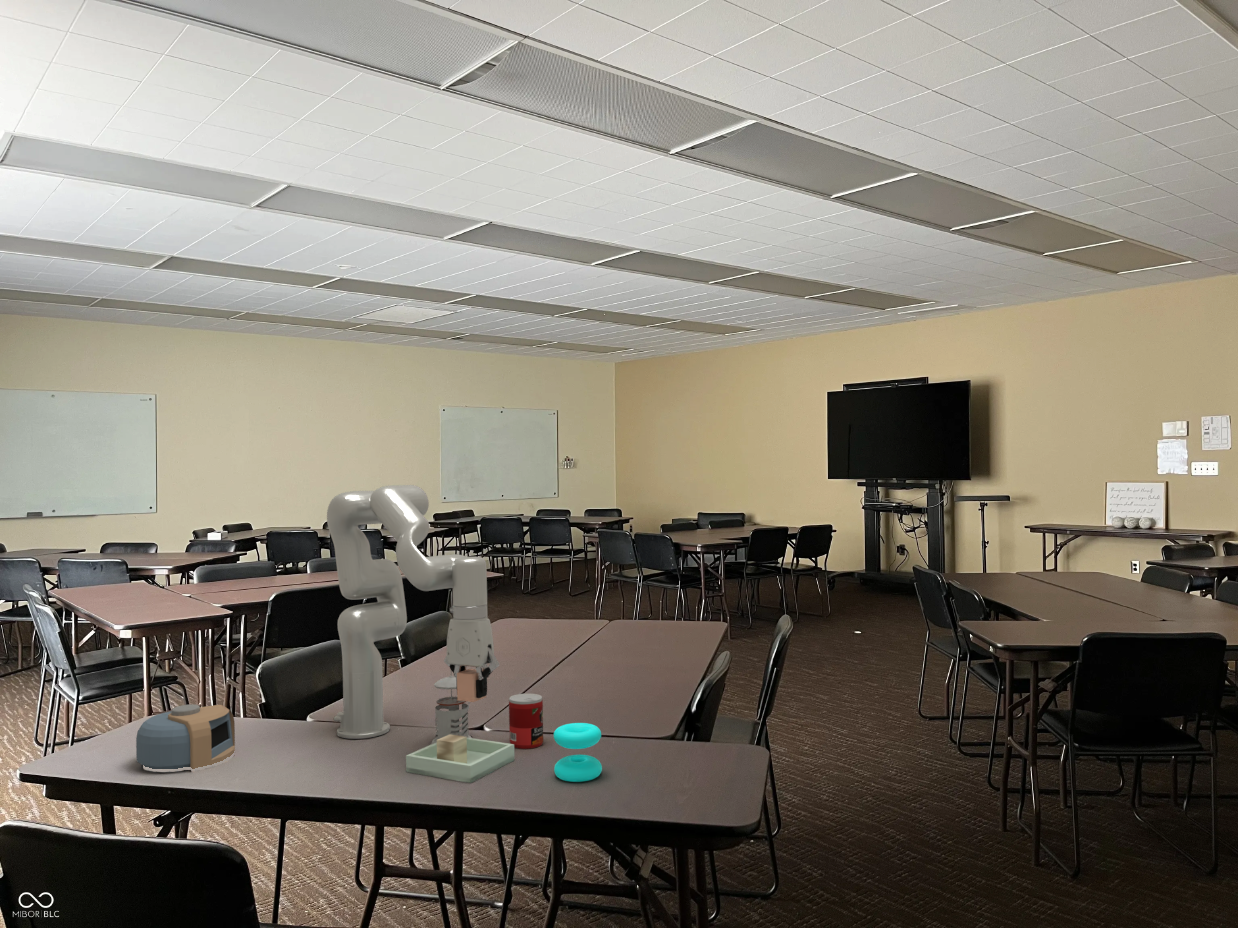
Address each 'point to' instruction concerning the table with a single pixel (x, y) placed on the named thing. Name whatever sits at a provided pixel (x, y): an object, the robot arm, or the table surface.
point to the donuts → (578, 765)
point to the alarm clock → (186, 737)
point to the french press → (450, 712)
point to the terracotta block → (467, 685)
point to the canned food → (526, 720)
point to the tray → (479, 763)
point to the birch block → (452, 748)
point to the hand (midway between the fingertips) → (471, 694)
